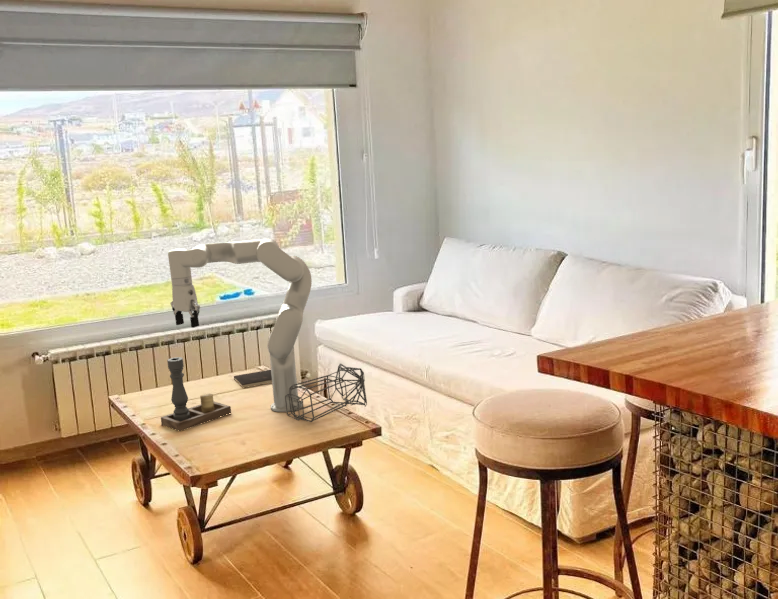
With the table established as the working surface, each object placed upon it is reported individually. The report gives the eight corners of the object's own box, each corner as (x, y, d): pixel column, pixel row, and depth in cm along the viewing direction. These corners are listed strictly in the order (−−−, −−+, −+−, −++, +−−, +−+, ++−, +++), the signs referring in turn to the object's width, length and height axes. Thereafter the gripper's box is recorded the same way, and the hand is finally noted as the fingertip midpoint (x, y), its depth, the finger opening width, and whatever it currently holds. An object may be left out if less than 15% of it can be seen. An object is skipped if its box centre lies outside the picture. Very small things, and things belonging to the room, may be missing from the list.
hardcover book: (294, 380, 378) (293, 375, 378) (242, 389, 370) (242, 384, 369) (284, 371, 393) (283, 367, 392) (234, 380, 384) (233, 375, 384)
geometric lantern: (300, 391, 311) (374, 364, 333) (276, 383, 323) (348, 359, 345) (306, 432, 314) (378, 403, 337) (281, 423, 326) (353, 396, 348)
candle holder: (186, 418, 334) (179, 356, 329) (193, 422, 329) (186, 359, 324) (171, 422, 330) (163, 359, 326) (178, 426, 326) (170, 362, 321)
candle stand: (231, 413, 337) (229, 393, 335) (179, 431, 320) (177, 410, 319) (212, 408, 345) (210, 388, 344) (161, 424, 329) (159, 404, 327)
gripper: (203, 281, 324) (209, 325, 327) (176, 278, 335) (182, 321, 339) (187, 284, 318) (193, 330, 322) (160, 282, 330) (166, 325, 333)
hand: (187, 325), depth 330 cm, fingers open, 9 cm apart
